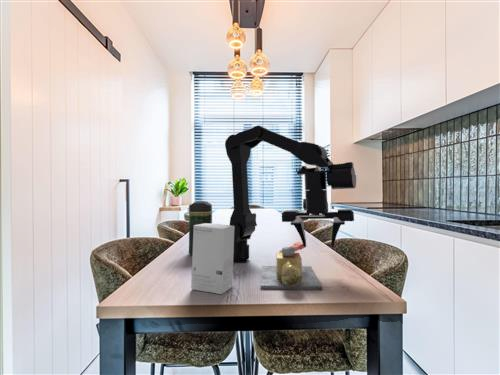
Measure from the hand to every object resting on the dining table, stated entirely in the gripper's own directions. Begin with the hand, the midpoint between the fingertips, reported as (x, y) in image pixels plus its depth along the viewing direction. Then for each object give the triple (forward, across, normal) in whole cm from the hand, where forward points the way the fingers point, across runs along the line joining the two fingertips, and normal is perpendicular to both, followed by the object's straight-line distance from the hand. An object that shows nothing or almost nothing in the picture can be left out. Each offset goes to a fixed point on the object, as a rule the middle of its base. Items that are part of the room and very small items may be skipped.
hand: (318, 247), depth 77 cm
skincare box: (+6, +23, +19) cm, 31 cm away
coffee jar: (+5, +42, -11) cm, 44 cm away
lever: (+1, +6, +3) cm, 7 cm away
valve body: (+7, +7, +7) cm, 12 cm away
